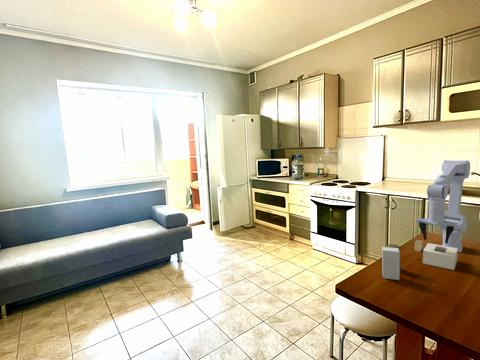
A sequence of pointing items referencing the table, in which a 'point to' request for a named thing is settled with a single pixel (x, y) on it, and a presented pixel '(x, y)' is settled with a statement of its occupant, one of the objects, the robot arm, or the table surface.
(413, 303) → the table surface
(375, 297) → the table surface
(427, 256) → the slot box
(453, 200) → the robot arm
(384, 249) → the skincare box
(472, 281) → the table surface
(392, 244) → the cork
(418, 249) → the wooden brick
